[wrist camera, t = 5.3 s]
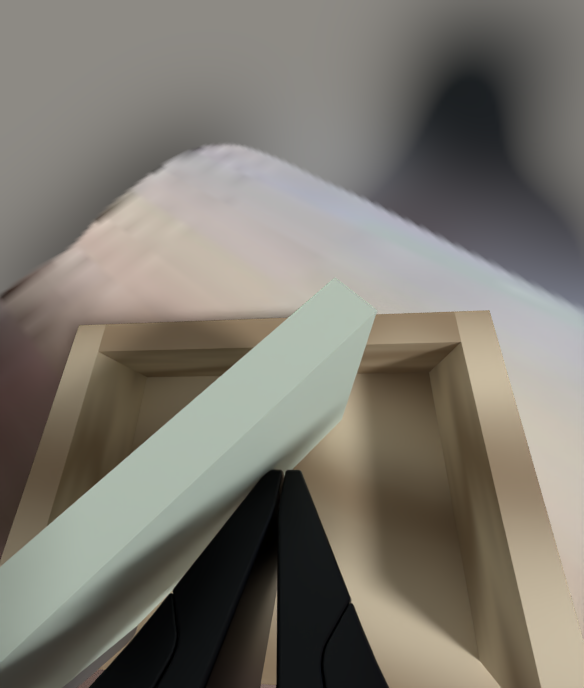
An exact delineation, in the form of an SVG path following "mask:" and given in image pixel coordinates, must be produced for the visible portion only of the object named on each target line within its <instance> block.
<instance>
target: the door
mask: <svg viewBox="0 0 584 688" xmlns="http://www.w3.org/2000/svg"><path fill="white" fill-rule="evenodd" d="M376 313H377V310H376V309H375V308H374V307H372V306H371V305H370V304H368V303H367V302H366V301H365V300H363V299H362V298H361V297H360V296H358V295H357V294H356V293H354V292H353V291H352V290H351V289H349V288H348V287H347V286H345V285H344V284H343V283H342V282H340V281H339V280H338V279H337V278H334V279H332V280H331V281H330V282H329V283H328V284H327V285H326V286H324V287H323V288H322V289H321V290H320V291H319V292H317V293H316V294H315V295H314V296H313V297H312V298H311V299H309V300H308V301H307V302H306V303H305V304H304V305H302V306H301V307H300V308H299V309H298V310H297V311H295V312H294V313H293V314H292V315H291V316H290V317H289V318H287V319H286V320H285V321H284V322H283V323H282V324H280V325H279V326H278V327H277V328H276V329H275V330H274V331H272V332H271V333H270V334H269V335H268V336H267V337H265V338H264V339H263V340H262V341H261V342H260V343H258V344H257V345H256V346H255V347H254V348H253V349H252V350H250V351H249V352H248V353H247V354H246V355H245V356H243V357H242V358H241V359H240V360H239V361H238V362H236V363H235V364H234V365H233V366H232V367H231V368H230V369H228V370H227V371H226V372H225V373H224V374H223V375H221V376H220V377H219V378H218V379H217V380H216V381H215V382H213V383H212V384H211V385H210V386H209V387H208V388H206V389H205V390H204V391H203V392H202V393H201V394H199V395H198V396H197V397H196V398H195V399H194V400H193V401H191V402H190V403H189V404H188V405H187V406H186V407H184V408H183V409H182V410H181V411H180V412H179V413H178V414H176V415H175V416H174V417H173V418H172V419H171V420H169V421H168V422H167V423H166V424H165V425H164V426H162V427H161V428H160V429H159V430H158V431H157V432H156V433H154V434H153V435H152V436H151V437H150V438H149V439H147V440H146V441H145V442H144V443H143V444H142V445H141V446H139V447H138V448H137V449H136V450H135V451H134V452H132V453H131V454H130V455H129V456H128V457H127V458H125V459H124V460H123V461H122V462H121V463H120V464H119V465H117V466H116V467H115V468H114V469H113V470H112V471H110V472H109V473H108V474H107V475H106V476H105V477H104V478H102V479H101V480H100V481H99V482H98V483H97V484H95V485H94V486H93V487H92V488H91V489H90V490H88V491H87V492H86V493H85V494H84V495H83V496H82V497H80V498H79V499H78V500H77V501H76V502H75V503H73V504H72V505H71V506H70V507H69V508H68V509H67V510H65V511H64V512H63V513H62V514H61V515H60V516H58V517H57V518H56V519H55V520H54V521H53V522H51V523H50V524H49V525H48V526H47V527H46V528H45V529H43V530H42V531H41V532H40V533H39V534H38V535H36V536H35V537H34V538H33V539H32V540H31V541H30V542H28V543H27V544H26V545H25V546H24V547H23V548H21V549H20V550H19V551H18V552H17V553H16V554H14V555H13V556H12V557H11V558H10V559H9V560H8V561H6V562H5V563H4V564H3V565H2V566H1V567H0V688H77V687H78V686H80V685H81V684H82V683H83V682H84V681H85V680H86V679H88V678H89V677H90V676H91V675H92V674H93V673H94V672H96V671H97V670H98V669H99V668H100V667H101V666H102V665H104V664H105V663H106V662H107V661H108V660H109V659H110V658H112V657H113V656H114V655H115V654H116V653H117V652H118V651H120V650H121V649H122V648H123V647H124V646H125V645H126V644H128V643H129V642H130V641H131V640H132V638H133V637H134V635H135V633H136V630H137V626H138V624H139V623H140V622H141V621H142V620H143V619H144V618H145V617H146V616H147V615H148V614H149V613H150V612H151V611H152V610H153V609H154V608H155V607H156V606H157V605H158V604H159V603H160V602H161V601H162V600H163V599H164V598H165V597H166V596H167V595H168V594H169V593H170V592H171V591H172V590H173V588H174V587H175V586H176V585H177V583H178V582H179V581H180V580H181V578H182V577H183V576H184V575H185V573H186V572H187V571H188V570H189V568H190V567H191V566H192V564H193V563H194V562H195V561H196V559H197V558H198V557H199V556H200V554H201V553H202V552H203V551H204V549H205V548H206V547H207V546H208V544H209V543H210V542H211V540H212V539H213V538H214V537H215V535H216V534H217V533H218V532H219V530H220V529H221V528H222V527H223V525H224V524H225V523H226V521H227V520H228V519H229V518H230V516H231V515H232V514H233V513H234V511H235V510H236V509H237V508H238V506H239V505H240V504H241V503H242V501H243V500H244V499H245V497H246V496H247V495H248V494H249V492H250V491H251V490H252V489H253V487H254V486H255V485H256V484H257V482H258V481H259V480H260V479H261V477H262V476H264V475H265V474H266V473H267V472H269V471H270V470H271V469H280V470H282V471H283V472H284V475H285V472H286V470H292V469H293V468H294V467H295V466H296V465H297V464H298V463H299V462H300V461H301V460H302V459H303V458H304V457H305V456H306V455H307V454H308V453H309V452H310V451H311V450H312V449H313V448H314V447H315V446H316V445H317V444H318V443H319V442H320V441H321V440H322V439H323V438H324V437H325V436H326V435H327V434H328V433H329V432H330V431H331V430H332V429H333V428H334V427H335V426H336V425H337V424H338V423H339V422H340V421H341V420H342V417H343V414H344V411H345V408H346V405H347V402H348V399H349V396H350V393H351V390H352V387H353V384H354V380H355V377H356V374H357V371H358V368H359V365H360V362H361V359H362V356H363V353H364V350H365V347H366V344H367V341H368V337H369V334H370V331H371V328H372V325H373V322H374V319H375V316H376Z"/></svg>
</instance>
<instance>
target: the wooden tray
mask: <svg viewBox="0 0 584 688" xmlns="http://www.w3.org/2000/svg"><path fill="white" fill-rule="evenodd" d="M286 319H287V318H267V319H240V320H212V321H185V322H158V323H130V324H103V325H79V327H78V330H77V333H76V336H75V339H74V342H73V345H72V348H71V351H70V354H69V357H68V360H67V363H66V366H65V369H64V372H63V375H62V378H61V381H60V384H59V387H58V390H57V393H56V396H55V399H54V402H53V405H52V408H51V411H50V414H49V417H48V420H47V423H46V426H45V429H44V432H43V435H42V438H41V441H40V444H39V447H38V450H37V453H36V456H35V459H34V462H33V465H32V468H31V471H30V474H29V477H28V480H27V483H26V486H25V489H24V492H23V495H22V498H21V501H20V504H19V506H18V509H17V512H16V515H15V518H14V521H13V524H12V527H11V530H10V533H9V536H8V539H7V542H6V545H5V548H4V551H3V554H2V557H1V560H0V567H1V566H2V565H3V564H4V563H5V562H6V561H8V560H9V559H10V558H11V557H12V556H13V555H14V554H16V553H17V552H18V551H19V550H20V549H21V548H23V547H24V546H25V545H26V544H27V543H28V542H30V541H31V540H32V539H33V538H34V537H35V536H36V535H38V534H39V533H40V532H41V531H42V530H43V529H45V528H46V527H47V526H48V525H49V524H50V523H51V522H53V521H54V520H55V519H56V518H57V517H58V516H60V515H61V514H62V513H63V512H64V511H65V510H67V509H68V508H69V507H70V506H71V505H72V504H73V503H75V502H76V501H77V500H78V499H79V498H80V497H82V496H83V495H84V494H85V493H86V492H87V491H88V490H90V489H91V488H92V487H93V486H94V485H95V484H97V483H98V482H99V481H100V480H101V479H102V478H104V477H105V476H106V475H107V474H108V473H109V472H110V471H112V470H113V469H114V468H115V467H116V466H117V465H119V464H120V463H121V462H122V461H123V460H124V459H125V458H127V457H128V456H129V455H130V454H131V453H132V452H134V451H135V450H136V449H137V448H138V447H139V446H141V445H142V444H143V443H144V442H145V441H146V440H147V439H149V438H150V437H151V436H152V435H153V434H154V433H156V432H157V431H158V430H159V429H160V428H161V427H162V426H164V425H165V424H166V423H167V422H168V421H169V420H171V419H172V418H173V417H174V416H175V415H176V414H178V413H179V412H180V411H181V410H182V409H183V408H184V407H186V406H187V405H188V404H189V403H190V402H191V401H193V400H194V399H195V398H196V397H197V396H198V395H199V394H201V393H202V392H203V391H204V390H205V389H206V388H208V387H209V386H210V385H211V384H212V383H213V382H215V381H216V380H217V379H218V378H219V377H220V376H221V375H223V374H224V373H225V372H226V371H227V370H228V369H230V368H231V367H232V366H233V365H234V364H235V363H236V362H238V361H239V360H240V359H241V358H242V357H243V356H245V355H246V354H247V353H248V352H249V351H250V350H252V349H253V348H254V347H255V346H256V345H257V344H258V343H260V342H261V341H262V340H263V339H264V338H265V337H267V336H268V335H269V334H270V333H271V332H272V331H274V330H275V329H276V328H277V327H278V326H279V325H280V324H282V323H283V322H284V321H285V320H286ZM292 470H301V472H302V474H303V476H304V479H305V481H306V484H307V486H308V489H309V492H310V494H311V497H312V499H313V502H314V505H315V507H316V510H317V512H318V515H319V517H320V520H321V523H322V525H323V528H324V530H325V533H326V535H327V538H328V541H329V543H330V546H331V548H332V551H333V553H334V556H335V559H336V561H337V564H338V566H339V569H340V571H341V574H342V577H343V579H344V582H345V584H346V587H347V590H348V592H349V595H350V597H351V603H352V604H353V605H354V607H355V610H356V612H357V615H358V617H359V620H360V622H361V625H362V627H363V630H364V632H365V635H366V637H367V639H368V642H369V644H370V646H371V649H372V651H373V654H374V656H375V658H376V661H377V663H378V665H379V667H380V669H381V671H382V673H383V676H384V678H385V680H386V682H387V684H388V686H389V688H584V640H583V637H582V633H581V630H580V626H579V623H578V619H577V616H576V612H575V609H574V605H573V602H572V598H571V595H570V591H569V588H568V584H567V581H566V577H565V574H564V570H563V567H562V563H561V560H560V556H559V553H558V549H557V546H556V542H555V539H554V535H553V532H552V528H551V525H550V521H549V518H548V514H547V511H546V507H545V504H544V500H543V497H542V493H541V490H540V486H539V483H538V479H537V476H536V472H535V468H534V465H533V461H532V458H531V454H530V451H529V447H528V444H527V440H526V437H525V433H524V430H523V426H522V423H521V419H520V416H519V412H518V409H517V405H516V402H515V398H514V395H513V391H512V388H511V384H510V381H509V377H508V374H507V370H506V367H505V363H504V360H503V356H502V353H501V349H500V346H499V342H498V339H497V335H496V332H495V328H494V325H493V321H492V318H491V314H490V311H489V310H487V311H459V312H432V313H404V314H377V315H376V316H375V319H374V322H373V325H372V328H371V331H370V334H369V337H368V341H367V344H366V347H365V350H364V353H363V356H362V359H361V362H360V365H359V368H358V371H357V374H356V377H355V380H354V384H353V387H352V390H351V393H350V396H349V399H348V402H347V405H346V408H345V411H344V414H343V417H342V420H341V421H340V422H339V423H338V424H337V425H336V426H335V427H334V428H333V429H332V430H331V431H330V432H329V433H328V434H327V435H326V436H325V437H324V438H323V439H322V440H321V441H320V442H319V443H318V444H317V445H316V446H315V447H314V448H313V449H312V450H311V451H310V452H309V453H308V454H307V455H306V456H305V457H304V458H303V459H302V460H301V461H300V462H299V463H298V464H297V465H296V466H295V467H294V468H293V469H292ZM170 593H173V590H172V591H171V592H170ZM167 596H168V595H167ZM167 596H166V597H167ZM166 597H165V598H166ZM165 598H164V599H163V600H162V601H161V602H160V603H159V604H158V605H157V606H156V607H155V608H154V609H153V610H152V611H151V612H150V613H149V614H148V615H147V616H146V617H145V618H144V619H143V620H142V621H141V622H140V623H139V624H138V626H137V630H136V633H135V635H136V634H137V633H138V632H139V630H140V629H141V628H142V627H143V626H144V624H145V623H146V622H147V621H148V619H149V618H150V617H151V616H152V615H153V613H154V612H155V611H156V610H157V608H158V607H159V606H160V605H161V603H162V602H163V601H164V600H165ZM135 635H134V636H135ZM133 638H134V637H133ZM133 638H132V639H133ZM128 644H129V643H128ZM128 644H126V645H125V646H124V647H123V648H122V649H121V650H120V651H118V652H117V653H116V654H115V655H114V656H113V657H112V658H110V659H109V660H108V661H107V662H106V663H105V664H104V665H102V666H101V667H100V668H99V669H102V670H105V669H106V668H107V667H108V666H109V665H110V664H111V663H112V662H113V660H114V659H115V658H116V657H117V656H118V655H119V654H120V653H121V651H122V650H123V649H124V648H125V647H126V646H127V645H128ZM276 662H277V593H276V599H275V605H274V611H273V616H272V622H271V628H270V634H269V639H268V645H267V651H266V656H265V662H264V668H263V674H262V679H261V684H269V685H276Z"/></svg>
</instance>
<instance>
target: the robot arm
mask: <svg viewBox="0 0 584 688" xmlns="http://www.w3.org/2000/svg"><path fill="white" fill-rule="evenodd" d="M276 593H277V662H276V688H389V686H388V684H387V682H386V680H385V678H384V676H383V673H382V671H381V669H380V667H379V665H378V663H377V661H376V658H375V656H374V654H373V651H372V649H371V646H370V644H369V642H368V639H367V637H366V635H365V632H364V630H363V627H362V625H361V622H360V620H359V617H358V615H357V612H356V610H355V607H354V605H353V604H352V603H351V597H350V595H349V592H348V590H347V587H346V584H345V582H344V579H343V577H342V574H341V571H340V569H339V566H338V564H337V561H336V559H335V556H334V553H333V551H332V548H331V546H330V543H329V541H328V538H327V535H326V533H325V530H324V528H323V525H322V523H321V520H320V517H319V515H318V512H317V510H316V507H315V505H314V502H313V499H312V497H311V494H310V492H309V489H308V486H307V484H306V481H305V479H304V476H303V474H302V472H301V470H286V472H285V475H284V472H283V471H282V470H280V469H271V470H270V471H269V472H267V473H266V474H265V475H264V476H262V477H261V479H260V480H259V481H258V482H257V484H256V485H255V486H254V487H253V489H252V490H251V491H250V492H249V494H248V495H247V496H246V497H245V499H244V500H243V501H242V503H241V504H240V505H239V506H238V508H237V509H236V510H235V511H234V513H233V514H232V515H231V516H230V518H229V519H228V520H227V521H226V523H225V524H224V525H223V527H222V528H221V529H220V530H219V532H218V533H217V534H216V535H215V537H214V538H213V539H212V540H211V542H210V543H209V544H208V546H207V547H206V548H205V549H204V551H203V552H202V553H201V554H200V556H199V557H198V558H197V559H196V561H195V562H194V563H193V564H192V566H191V567H190V568H189V570H188V571H187V572H186V573H185V575H184V576H183V577H182V578H181V580H180V581H179V582H178V583H177V585H176V586H175V587H174V588H173V593H169V594H168V596H167V597H166V598H165V600H164V601H163V602H162V603H161V605H160V606H159V607H158V608H157V610H156V611H155V612H154V613H153V615H152V616H151V617H150V618H149V619H148V621H147V622H146V623H145V624H144V626H143V627H142V628H141V629H140V630H139V632H138V633H137V634H136V635H135V636H134V638H133V639H132V640H131V641H130V642H129V644H128V645H127V646H126V647H125V648H124V649H123V650H122V651H121V653H120V654H119V655H118V656H117V657H116V658H115V659H114V660H113V662H112V663H111V664H110V665H109V666H108V667H107V668H106V669H105V670H104V672H103V673H102V674H101V675H100V676H99V677H98V678H97V679H96V680H95V682H94V683H93V684H92V685H91V686H90V687H89V688H260V685H261V679H262V674H263V668H264V662H265V656H266V651H267V645H268V639H269V634H270V628H271V622H272V616H273V611H274V605H275V599H276Z"/></svg>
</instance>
